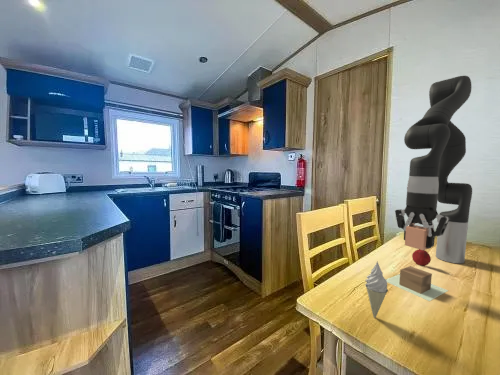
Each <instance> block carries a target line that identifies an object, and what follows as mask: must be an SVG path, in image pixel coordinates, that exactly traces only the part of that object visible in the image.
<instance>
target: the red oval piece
mask: <svg viewBox="0 0 500 375" xmlns="http://www.w3.org/2000/svg"><path fill="white" fill-rule="evenodd" d="M411 257H412V260H413V262H414V263H415V264H416V265H417V266H419V267H420V266H421V267H425V266H428V265H429V264H430V263H431V260H432V257H431V255H430V253H429V252H428V251H427V250H420V249H416V250H414V251H413V253H412V256H411Z"/></svg>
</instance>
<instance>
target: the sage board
mask: <svg viewBox="0 0 500 375" xmlns="http://www.w3.org/2000/svg"><path fill="white" fill-rule="evenodd" d="M385 279H386V278H385ZM386 281H387V284H390V285H392V286H395V287H396V288H399V289H400V290H403V291H406V292H408V293H410V294H412V295H414V296H416V297H418V298H421V299H423V300H426V301H427V302H430V301H433V300H435V299H436V298H438V297H439V296H441V295H444V294H445V293H447V292H448V291H449V290H448V289H446V288H443V287H440V286H438V285H435V284H433V283H431V289H430V290H428V291H426V292H424V293H422V294H420V293H417V292H415V291H413V290H411V289H408V288H406V287H404V286H401V285H399V282H400V273H399V274H396V275H394V276H391V277H388V278H387V279H386Z"/></svg>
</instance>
